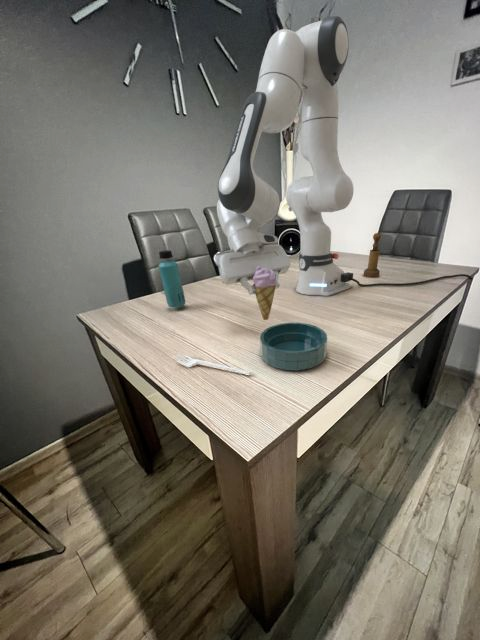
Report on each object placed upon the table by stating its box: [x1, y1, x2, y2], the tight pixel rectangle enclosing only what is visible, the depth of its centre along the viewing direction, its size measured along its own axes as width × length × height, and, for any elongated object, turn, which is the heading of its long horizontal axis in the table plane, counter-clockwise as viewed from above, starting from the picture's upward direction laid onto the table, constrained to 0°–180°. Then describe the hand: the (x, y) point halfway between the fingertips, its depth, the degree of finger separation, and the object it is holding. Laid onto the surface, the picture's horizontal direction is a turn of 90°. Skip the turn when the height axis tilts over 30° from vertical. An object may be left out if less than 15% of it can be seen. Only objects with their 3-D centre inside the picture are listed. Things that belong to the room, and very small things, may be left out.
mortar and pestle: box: [363, 232, 382, 279], centre depth 119 cm, size 7×6×18 cm
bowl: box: [259, 322, 328, 371], centre depth 65 cm, size 16×16×5 cm
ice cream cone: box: [252, 266, 276, 321], centre depth 74 cm, size 7×6×15 cm
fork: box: [172, 351, 251, 376], centre depth 63 cm, size 3×20×2 cm, turn 66°
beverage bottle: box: [158, 249, 186, 308], centre depth 94 cm, size 6×7×20 cm
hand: (265, 290), depth 73 cm, fingers closed on ice cream cone, 6 cm apart
